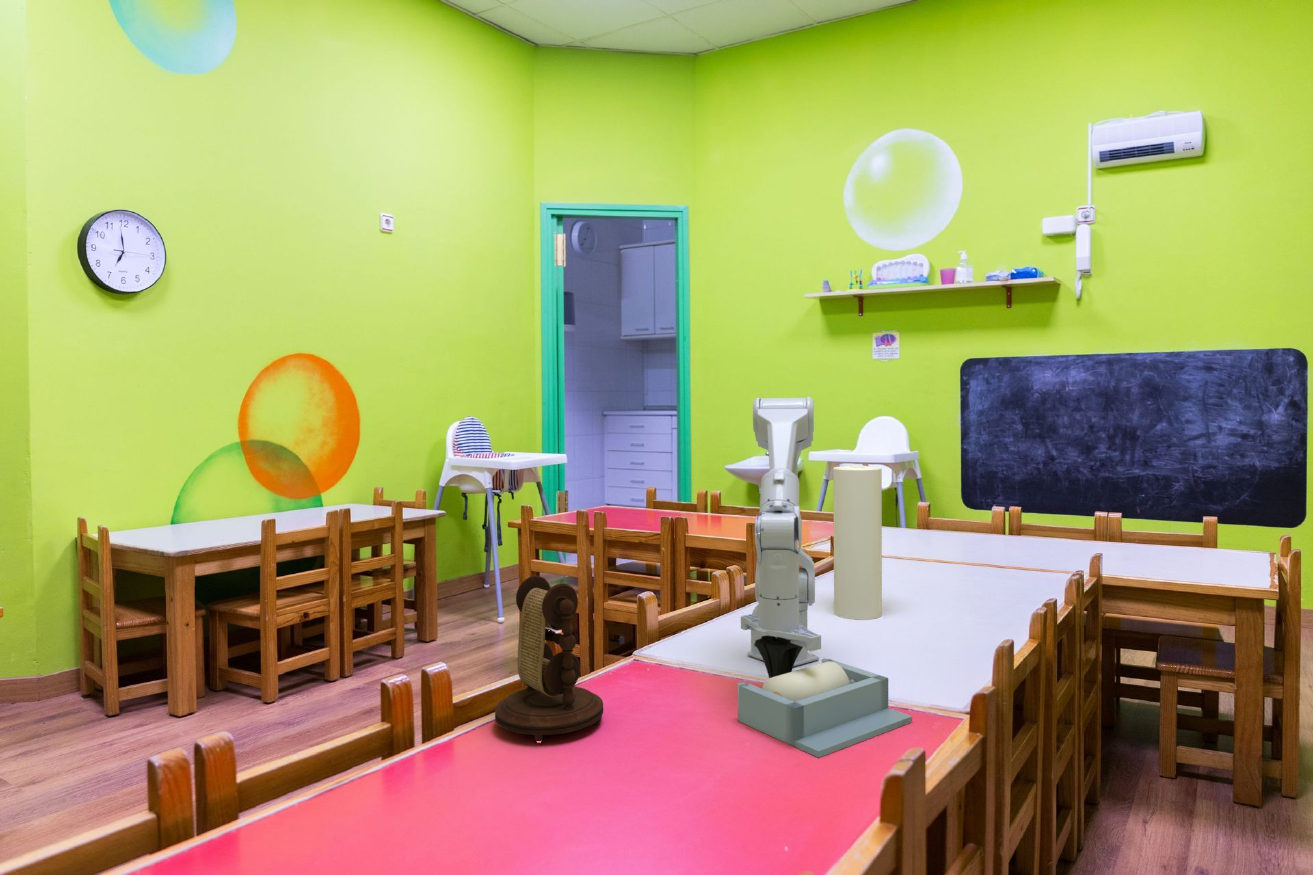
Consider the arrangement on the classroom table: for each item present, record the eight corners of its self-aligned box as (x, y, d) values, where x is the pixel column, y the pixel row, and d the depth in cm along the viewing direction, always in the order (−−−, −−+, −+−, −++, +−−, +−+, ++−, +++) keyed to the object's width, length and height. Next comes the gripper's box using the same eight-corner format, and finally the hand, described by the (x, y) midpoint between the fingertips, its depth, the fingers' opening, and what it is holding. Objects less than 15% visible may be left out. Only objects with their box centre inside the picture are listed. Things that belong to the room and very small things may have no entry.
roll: (761, 670, 116) (758, 714, 117) (794, 688, 111) (791, 734, 112) (820, 654, 123) (816, 695, 124) (853, 670, 118) (850, 713, 119)
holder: (735, 719, 116) (735, 683, 116) (827, 690, 127) (826, 657, 127) (818, 757, 104) (818, 717, 103) (912, 721, 114) (912, 685, 114)
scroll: (475, 722, 117) (471, 579, 116) (564, 696, 126) (561, 564, 125) (532, 756, 105) (528, 598, 104) (625, 725, 115) (622, 580, 114)
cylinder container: (883, 620, 165) (883, 467, 163) (834, 618, 167) (833, 467, 165) (880, 608, 174) (880, 463, 173) (833, 606, 176) (833, 463, 175)
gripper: (724, 590, 125) (725, 680, 125) (795, 609, 113) (795, 709, 114) (760, 583, 129) (760, 670, 130) (831, 601, 117) (832, 697, 118)
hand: (779, 688), depth 122 cm, fingers closed
